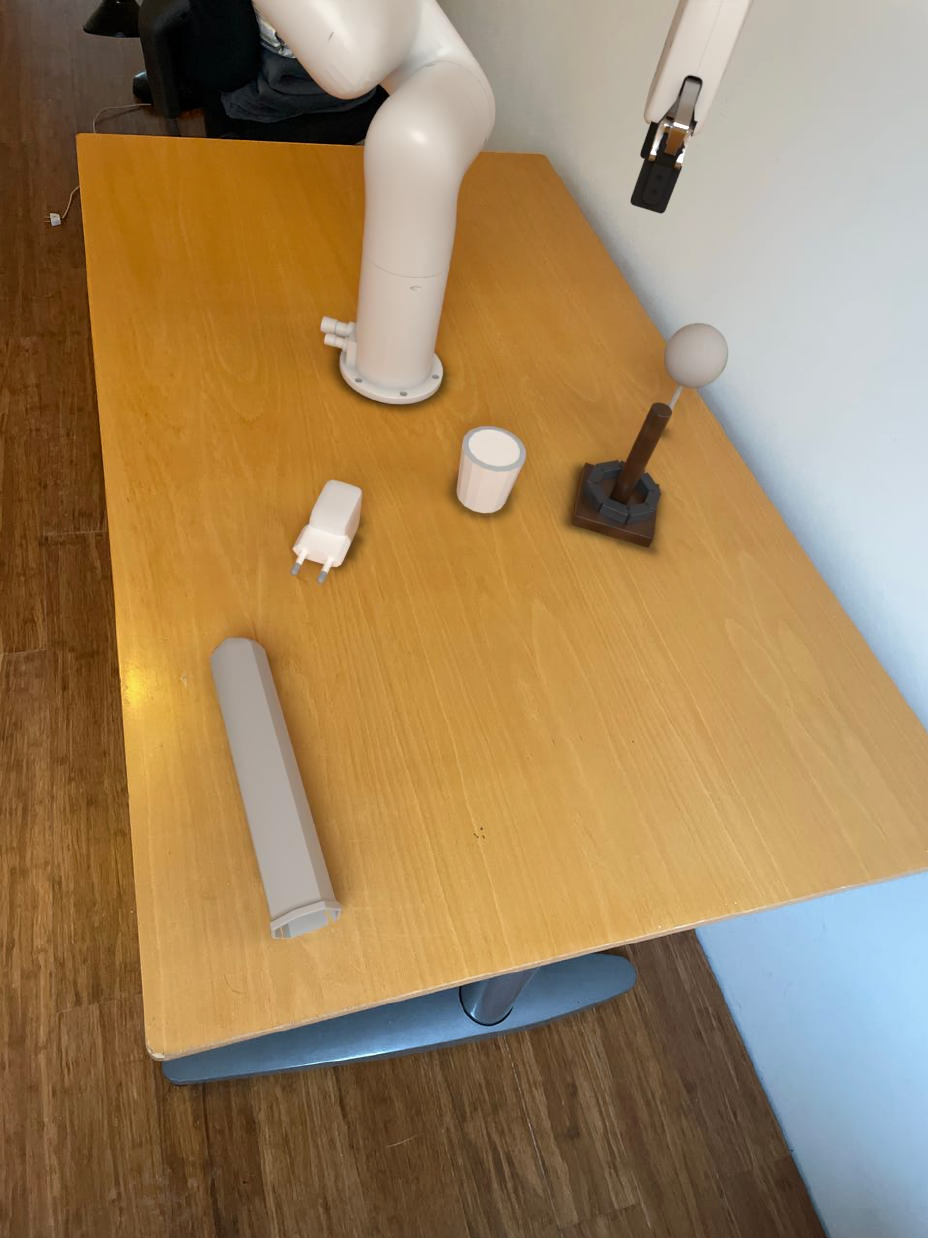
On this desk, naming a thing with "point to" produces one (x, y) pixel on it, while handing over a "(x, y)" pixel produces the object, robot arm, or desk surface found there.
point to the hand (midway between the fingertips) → (651, 183)
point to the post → (625, 485)
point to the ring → (615, 508)
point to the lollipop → (695, 357)
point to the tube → (272, 792)
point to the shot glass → (488, 468)
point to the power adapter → (329, 527)
